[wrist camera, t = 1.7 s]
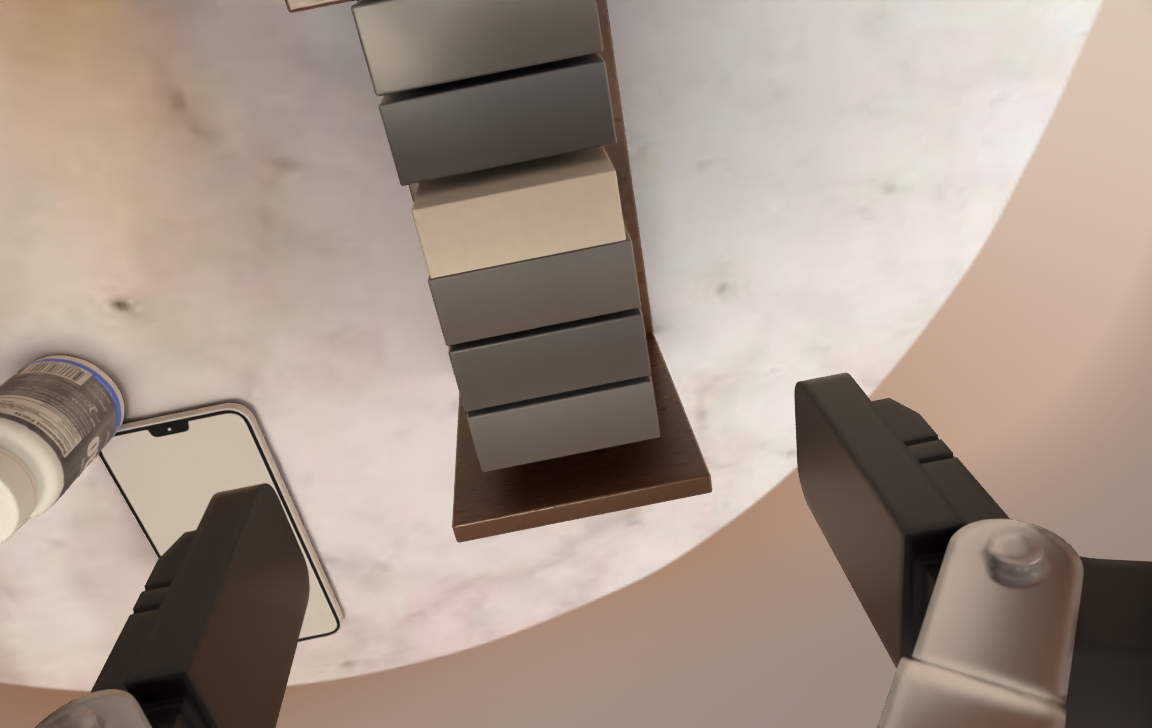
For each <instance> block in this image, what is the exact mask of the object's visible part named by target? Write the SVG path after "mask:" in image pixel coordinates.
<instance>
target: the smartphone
mask: <svg viewBox="0 0 1152 728" xmlns="http://www.w3.org/2000/svg"><path fill="white" fill-rule="evenodd" d="M98 456H99V458H100V460H101V462H102V463H103V465H104V467H105V469H106V470H107V472H108V474H109V476H110V477H111V479H112V481H113V482H114V484H115V486H116V488H117V489H118V491H119V493H120V495H121V496H122V498H123V500H124V502H125V503H126V505H127V507H128V508H129V510H130V512H131V514H132V515H133V517H134V519H135V521H136V522H137V524H138V526H139V528H140V529H141V531H142V533H143V534H144V536H145V538H146V540H147V541H148V543H149V545H150V547H151V548H152V550H153V552H154V553H155V555H156V557H157V559H159V558H160V557H161V556H162V555H163V554H164V553H165V552H166V551H167V550H168V549H169V548H170V547H171V546H172V545H173V544H174V543H175V542H176V541H177V540H178V539H179V538H180V537H181V536H182V535H183V534H184V533H185V532H189V531H194V530H196V529H197V527H198V525H199V523H200V521H201V519H202V517H203V514H204V512H205V510H206V508H207V506H208V504H209V502H210V500H211V498H212V496H213V495H214V494H215V493H217V492H222V491H227V490H232V489H237V488H243V487H248V486H253V485H258V484H263V483H267V484H269V485H271V486H272V487H273V488H274V490H275V492H276V493H277V496H278V498H279V500H280V502H281V505H282V507H283V509H284V512H285V514H286V516H287V519H288V521H289V523H290V525H291V528H292V530H293V532H294V535H295V537H296V539H297V542H298V544H299V546H300V549H301V551H302V553H303V555H304V558H305V561H306V564H307V568H308V573H309V582H310V593H309V600H308V605H307V609H306V612H305V616H304V620H303V624H302V628H301V632H300V635H299V639H298V642H301V641H306V640H311V639H316V638H321V637H326V636H330V635H333V634H335V633H337V632H338V631H339V630H340V629H341V626H342V622H343V614H342V611H341V609H340V607H339V604H338V602H337V600H336V598H335V595H334V593H333V591H332V589H331V587H330V584H329V582H328V580H327V578H326V575H325V573H324V571H323V569H322V566H321V564H320V562H319V560H318V557H317V555H316V553H315V551H314V549H313V546H312V544H311V542H310V540H309V537H308V535H307V533H306V531H305V528H304V526H303V524H302V522H301V520H300V517H299V515H298V513H297V511H296V508H295V506H294V504H293V502H292V499H291V497H290V495H289V493H288V490H287V488H286V486H285V484H284V482H283V479H282V477H281V475H280V473H279V470H278V468H277V466H276V464H275V461H274V459H273V457H272V455H271V452H270V450H269V448H268V446H267V444H266V441H265V439H264V437H263V435H262V432H261V430H260V428H259V426H258V423H257V421H256V419H255V417H254V415H253V414H252V412H251V411H250V410H249V409H248V408H246V407H245V406H243V405H241V404H237V403H224V404H219V405H214V406H209V407H204V408H199V409H194V410H190V411H185V412H180V413H175V414H170V415H165V416H160V417H155V418H151V419H146V420H141V421H136V422H131V423H126V424H122V425H121V427H120V428H119V430H118V431H117V433H116V434H115V435H114V437H113V438H112V439H111V440H110V441H109V442H108V443H107V444H106V446H105V447H104V448H103V449H102V450H101V451H100V452H99V454H98Z"/></svg>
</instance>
